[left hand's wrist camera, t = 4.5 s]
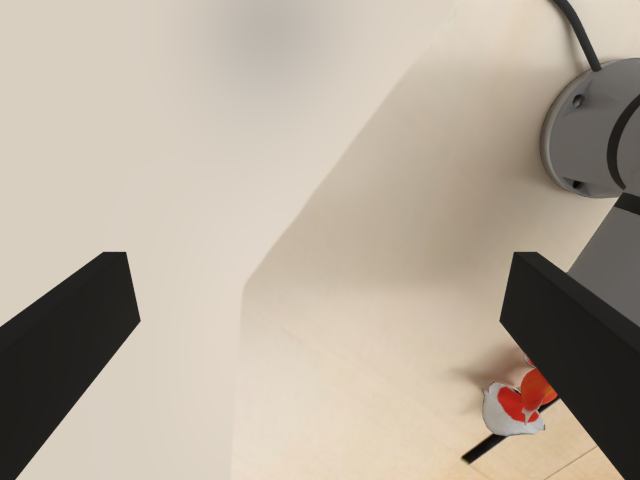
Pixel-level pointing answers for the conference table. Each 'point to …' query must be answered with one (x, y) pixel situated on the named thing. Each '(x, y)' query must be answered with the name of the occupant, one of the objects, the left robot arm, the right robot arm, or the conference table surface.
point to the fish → (517, 405)
